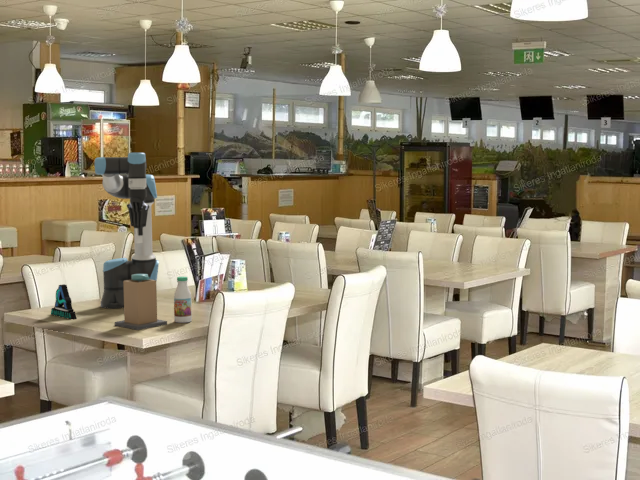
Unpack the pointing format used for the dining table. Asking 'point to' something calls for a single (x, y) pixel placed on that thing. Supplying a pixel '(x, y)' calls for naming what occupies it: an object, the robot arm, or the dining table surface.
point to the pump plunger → (140, 277)
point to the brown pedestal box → (140, 305)
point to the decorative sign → (61, 300)
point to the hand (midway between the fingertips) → (138, 243)
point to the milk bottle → (182, 302)
